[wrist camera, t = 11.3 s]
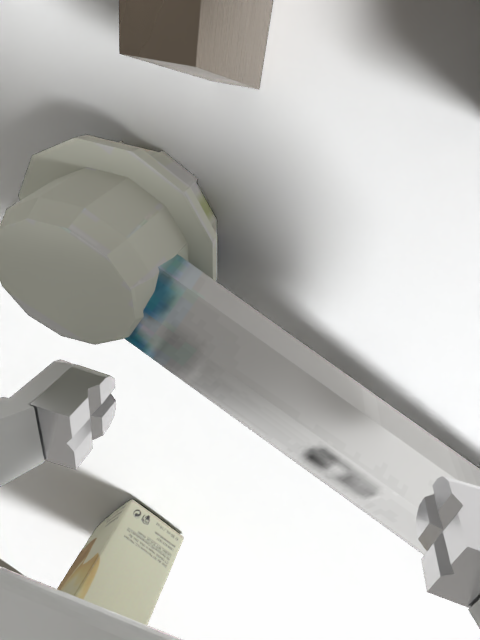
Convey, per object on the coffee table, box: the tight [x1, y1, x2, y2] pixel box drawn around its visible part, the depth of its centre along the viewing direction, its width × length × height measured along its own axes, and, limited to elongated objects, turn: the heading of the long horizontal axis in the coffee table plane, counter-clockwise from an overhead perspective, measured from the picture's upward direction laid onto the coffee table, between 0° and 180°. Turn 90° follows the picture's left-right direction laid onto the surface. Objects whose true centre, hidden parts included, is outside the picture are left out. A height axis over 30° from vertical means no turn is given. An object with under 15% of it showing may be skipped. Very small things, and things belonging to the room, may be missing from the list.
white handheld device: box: [0, 135, 480, 555], centre depth 13 cm, size 5×7×25 cm
